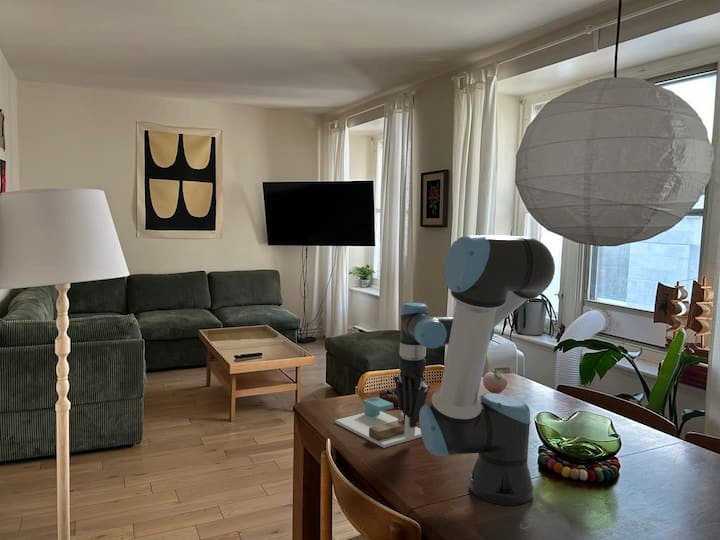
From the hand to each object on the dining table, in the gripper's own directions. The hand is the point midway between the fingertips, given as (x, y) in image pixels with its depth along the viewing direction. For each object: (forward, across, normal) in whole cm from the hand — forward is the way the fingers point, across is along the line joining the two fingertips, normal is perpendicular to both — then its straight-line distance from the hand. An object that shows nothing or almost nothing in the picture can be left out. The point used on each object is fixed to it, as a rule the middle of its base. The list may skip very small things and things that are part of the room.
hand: (409, 436), depth 167 cm
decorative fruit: (+3, +18, -60) cm, 63 cm away
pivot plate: (+3, +15, -2) cm, 15 cm away
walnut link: (+1, +8, -1) cm, 8 cm away
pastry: (+4, +31, -23) cm, 39 cm away
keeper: (+3, +22, -6) cm, 23 cm away
